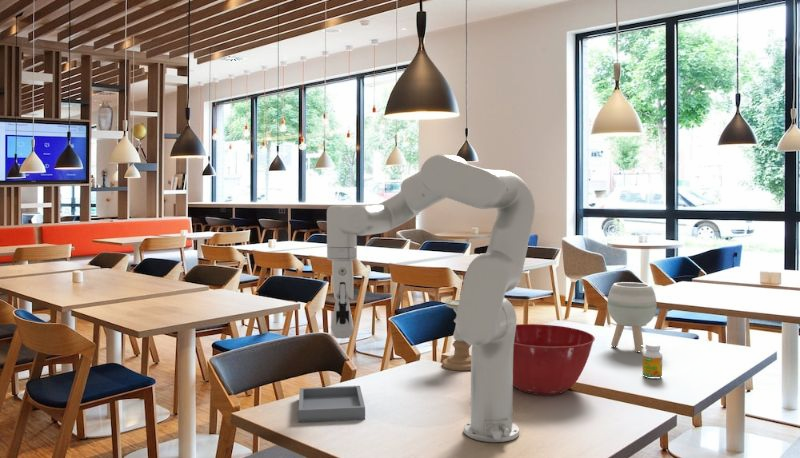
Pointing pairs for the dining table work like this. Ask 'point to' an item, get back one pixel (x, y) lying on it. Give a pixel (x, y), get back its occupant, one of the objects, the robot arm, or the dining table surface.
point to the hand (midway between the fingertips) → (342, 324)
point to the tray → (331, 404)
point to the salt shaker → (342, 324)
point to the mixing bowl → (549, 357)
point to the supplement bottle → (652, 361)
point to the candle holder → (458, 348)
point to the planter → (631, 309)
